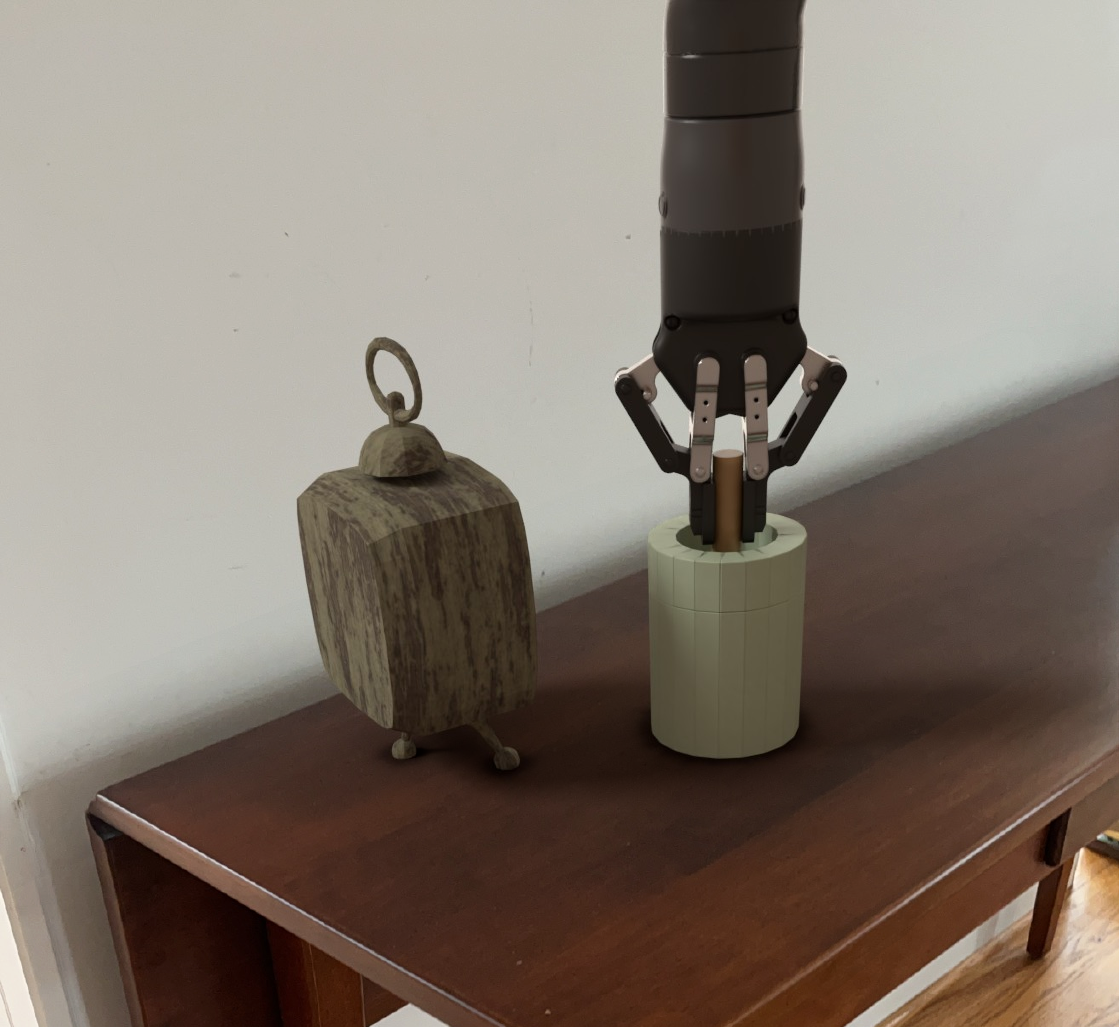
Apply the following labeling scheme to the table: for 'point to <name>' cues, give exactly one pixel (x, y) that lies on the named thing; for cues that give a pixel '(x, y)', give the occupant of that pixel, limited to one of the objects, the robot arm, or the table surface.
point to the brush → (728, 500)
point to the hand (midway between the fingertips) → (726, 538)
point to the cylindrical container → (726, 639)
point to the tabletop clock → (420, 581)
